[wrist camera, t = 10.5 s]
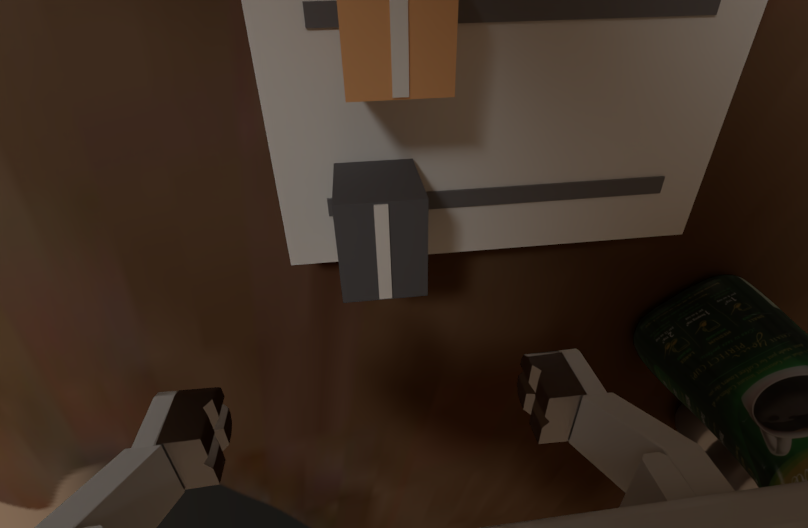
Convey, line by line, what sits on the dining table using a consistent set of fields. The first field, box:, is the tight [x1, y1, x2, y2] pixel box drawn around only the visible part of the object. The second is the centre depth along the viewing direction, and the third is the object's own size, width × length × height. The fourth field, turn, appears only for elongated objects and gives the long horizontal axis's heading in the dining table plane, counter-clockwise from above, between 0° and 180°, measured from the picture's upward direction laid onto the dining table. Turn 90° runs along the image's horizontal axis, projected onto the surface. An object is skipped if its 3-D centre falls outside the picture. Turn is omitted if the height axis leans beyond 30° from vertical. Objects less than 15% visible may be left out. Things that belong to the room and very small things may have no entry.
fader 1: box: [337, 0, 459, 102], centre depth 17 cm, size 4×5×5 cm
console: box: [241, 0, 768, 265], centre depth 23 cm, size 24×16×3 cm, turn 91°
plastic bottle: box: [675, 403, 758, 491], centre depth 34 cm, size 6×7×20 cm
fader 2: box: [332, 159, 429, 303], centre depth 22 cm, size 4×5×5 cm
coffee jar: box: [634, 275, 808, 488], centre depth 28 cm, size 10×8×19 cm
